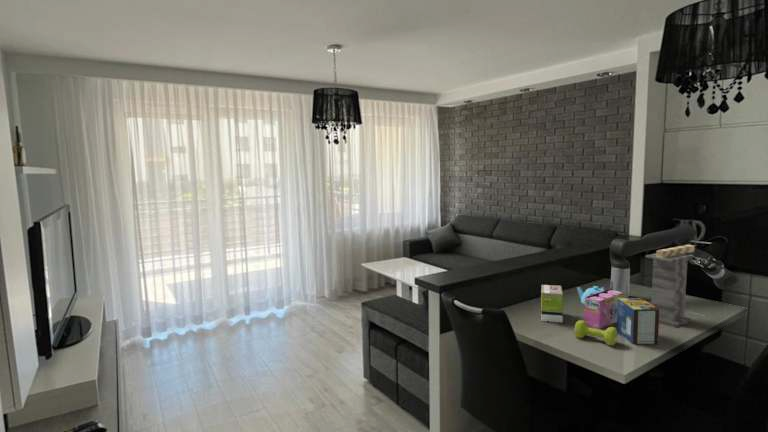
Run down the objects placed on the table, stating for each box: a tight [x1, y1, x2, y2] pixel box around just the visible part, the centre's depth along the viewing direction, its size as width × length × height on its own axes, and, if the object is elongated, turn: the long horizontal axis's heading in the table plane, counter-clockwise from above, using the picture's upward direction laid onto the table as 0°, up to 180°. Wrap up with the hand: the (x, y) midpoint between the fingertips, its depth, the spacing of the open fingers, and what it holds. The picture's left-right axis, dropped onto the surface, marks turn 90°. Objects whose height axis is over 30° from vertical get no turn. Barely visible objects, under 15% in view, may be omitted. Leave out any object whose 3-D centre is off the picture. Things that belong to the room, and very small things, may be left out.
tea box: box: [540, 284, 564, 323], centre depth 213 cm, size 15×10×15 cm
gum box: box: [583, 288, 625, 330], centre depth 205 cm, size 24×8×14 cm, turn 124°
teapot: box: [576, 285, 605, 307], centre depth 228 cm, size 15×15×11 cm
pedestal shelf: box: [644, 252, 694, 328], centre depth 204 cm, size 18×14×32 cm
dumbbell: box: [573, 319, 619, 347], centre depth 184 cm, size 16×8×7 cm, turn 46°
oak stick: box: [655, 244, 696, 258], centre depth 204 cm, size 27×3×3 cm, turn 118°
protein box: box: [616, 297, 660, 345], centre depth 185 cm, size 10×15×16 cm
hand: (699, 257), depth 215 cm, fingers open, 8 cm apart
